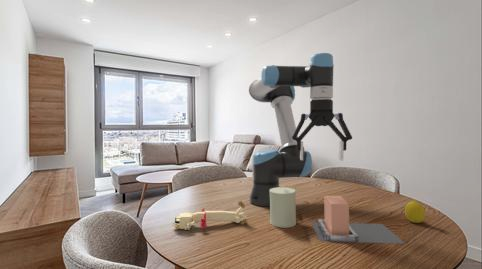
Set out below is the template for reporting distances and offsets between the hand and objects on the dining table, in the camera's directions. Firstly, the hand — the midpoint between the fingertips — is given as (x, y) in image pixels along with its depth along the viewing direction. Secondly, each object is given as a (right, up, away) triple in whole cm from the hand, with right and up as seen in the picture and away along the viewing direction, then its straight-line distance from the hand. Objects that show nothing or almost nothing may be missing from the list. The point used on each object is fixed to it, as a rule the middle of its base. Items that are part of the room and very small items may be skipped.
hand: (321, 159), depth 87 cm
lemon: (+30, -22, -4) cm, 37 cm away
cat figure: (-39, -23, -1) cm, 46 cm away
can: (-14, -22, 0) cm, 26 cm away
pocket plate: (+6, -22, -11) cm, 25 cm away
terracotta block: (+1, -21, -11) cm, 24 cm away
